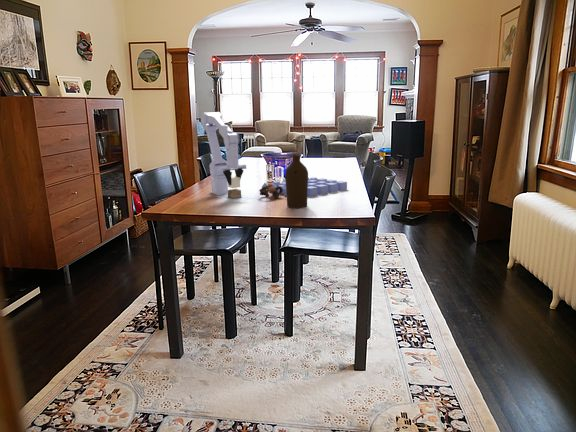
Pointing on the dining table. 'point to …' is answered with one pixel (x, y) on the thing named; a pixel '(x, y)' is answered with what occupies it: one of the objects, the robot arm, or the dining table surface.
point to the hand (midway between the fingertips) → (233, 184)
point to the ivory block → (235, 182)
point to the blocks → (315, 186)
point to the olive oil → (296, 183)
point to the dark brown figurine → (271, 189)
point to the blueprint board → (235, 198)
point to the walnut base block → (234, 193)
